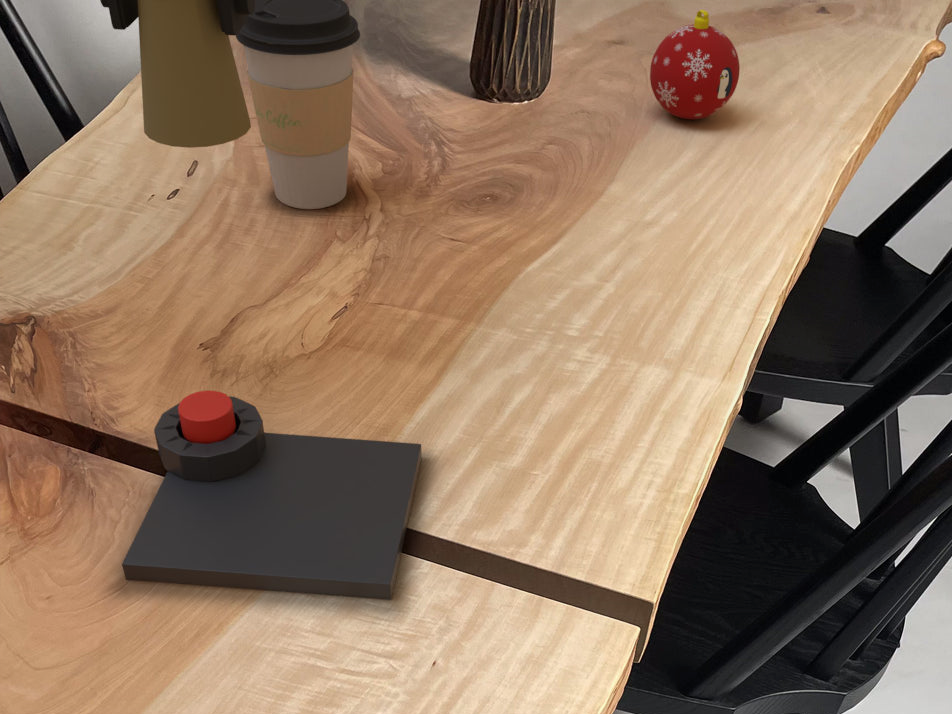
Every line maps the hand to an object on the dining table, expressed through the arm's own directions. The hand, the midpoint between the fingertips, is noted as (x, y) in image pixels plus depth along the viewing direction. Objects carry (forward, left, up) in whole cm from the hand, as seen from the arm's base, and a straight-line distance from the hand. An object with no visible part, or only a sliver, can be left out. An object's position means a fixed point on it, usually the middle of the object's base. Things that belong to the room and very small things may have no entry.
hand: (181, 21), depth 60 cm
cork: (0, 0, -6) cm, 6 cm away
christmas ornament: (+33, +49, -22) cm, 63 cm away
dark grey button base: (+7, -15, -22) cm, 27 cm away
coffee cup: (0, +26, -22) cm, 34 cm away
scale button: (+2, -11, -19) cm, 22 cm away
